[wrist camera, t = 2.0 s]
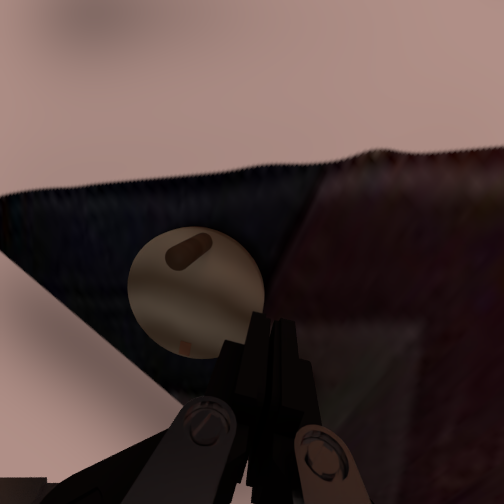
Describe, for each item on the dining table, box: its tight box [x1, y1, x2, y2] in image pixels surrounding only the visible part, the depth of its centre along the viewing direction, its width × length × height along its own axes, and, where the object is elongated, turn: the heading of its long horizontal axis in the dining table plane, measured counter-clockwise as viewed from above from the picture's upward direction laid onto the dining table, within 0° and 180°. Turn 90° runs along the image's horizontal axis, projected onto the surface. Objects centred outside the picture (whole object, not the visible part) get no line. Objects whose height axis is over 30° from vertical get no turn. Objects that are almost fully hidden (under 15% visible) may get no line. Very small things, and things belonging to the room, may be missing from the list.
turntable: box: [128, 226, 264, 359], centre depth 22 cm, size 14×14×8 cm
